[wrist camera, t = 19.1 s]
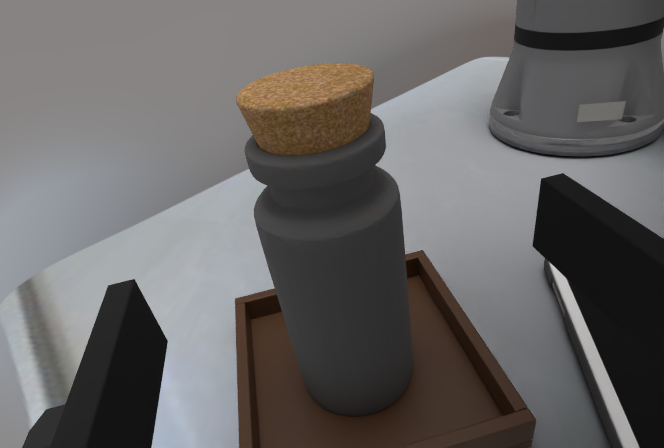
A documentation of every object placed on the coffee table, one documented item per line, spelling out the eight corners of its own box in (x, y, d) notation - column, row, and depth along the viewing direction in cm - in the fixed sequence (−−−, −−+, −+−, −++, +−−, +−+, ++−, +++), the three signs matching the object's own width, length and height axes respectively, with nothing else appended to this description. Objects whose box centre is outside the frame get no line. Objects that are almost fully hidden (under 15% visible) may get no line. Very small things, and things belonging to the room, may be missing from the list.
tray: (532, 446, 19) (537, 420, 18) (253, 532, 18) (240, 510, 16) (423, 273, 29) (422, 249, 28) (243, 320, 28) (234, 298, 27)
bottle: (354, 310, 26) (309, 53, 18) (436, 359, 22) (426, 62, 14) (280, 373, 23) (186, 100, 15) (361, 443, 19) (293, 127, 11)
